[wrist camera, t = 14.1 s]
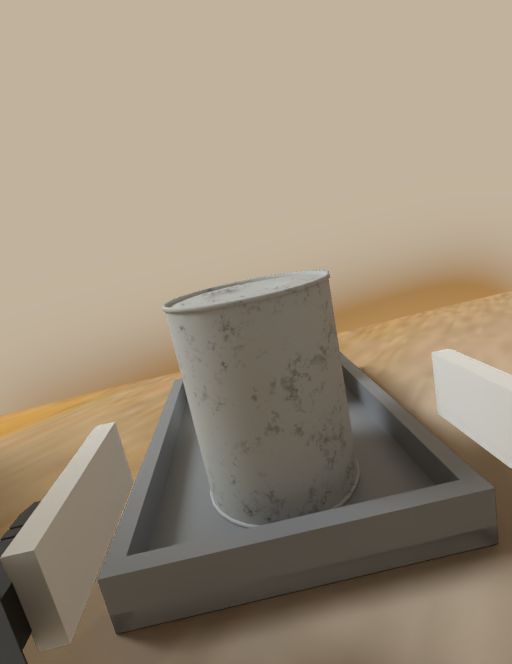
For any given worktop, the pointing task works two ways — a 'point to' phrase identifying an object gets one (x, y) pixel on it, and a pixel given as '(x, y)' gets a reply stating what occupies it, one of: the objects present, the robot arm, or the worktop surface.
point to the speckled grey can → (267, 396)
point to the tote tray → (292, 534)
